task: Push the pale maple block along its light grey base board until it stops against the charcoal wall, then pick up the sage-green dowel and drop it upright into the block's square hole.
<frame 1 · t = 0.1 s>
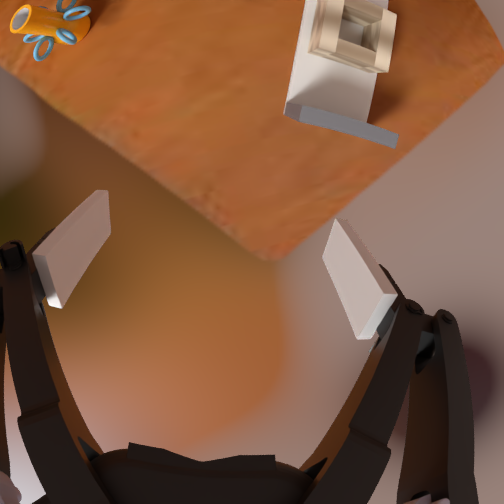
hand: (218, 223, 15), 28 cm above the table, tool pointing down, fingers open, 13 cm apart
orange ringed tube: (77, 29, 25), on the table
backstop: (340, 48, 31), on the table
block: (352, 31, 26), point 4 cm above the table, slide at 8.0 cm
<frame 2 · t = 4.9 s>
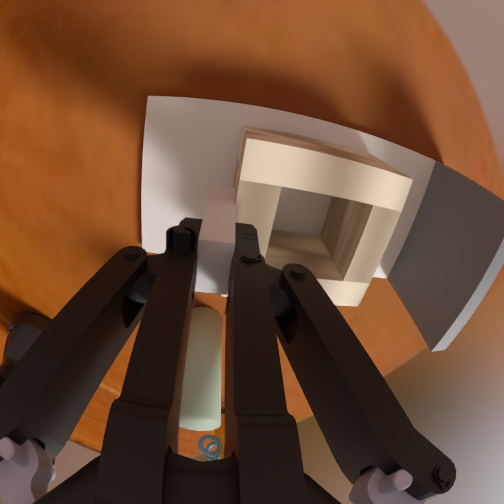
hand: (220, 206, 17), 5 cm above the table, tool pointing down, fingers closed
orange ringed tube: (230, 416, 44), on the table
backstop: (305, 197, 22), on the table
block: (305, 217, 18), point 4 cm above the table, slide at 6.6 cm, touching gripper
dowel: (203, 319, 29), on the table
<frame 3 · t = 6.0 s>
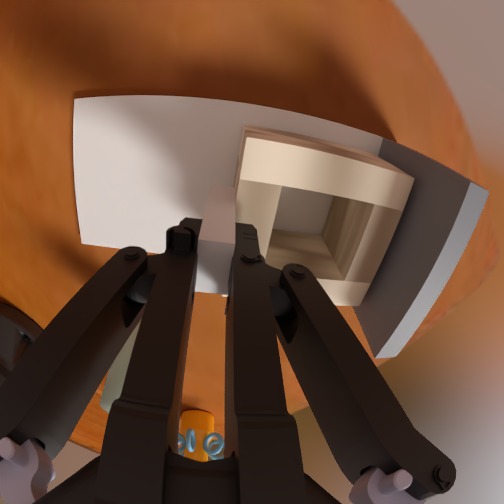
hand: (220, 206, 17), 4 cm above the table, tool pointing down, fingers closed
orange ringed tube: (197, 414, 43), on the table
backstop: (228, 185, 21), on the table
block: (306, 216, 18), point 4 cm above the table, slide at 0.4 cm, touching gripper
dowel: (147, 312, 28), on the table
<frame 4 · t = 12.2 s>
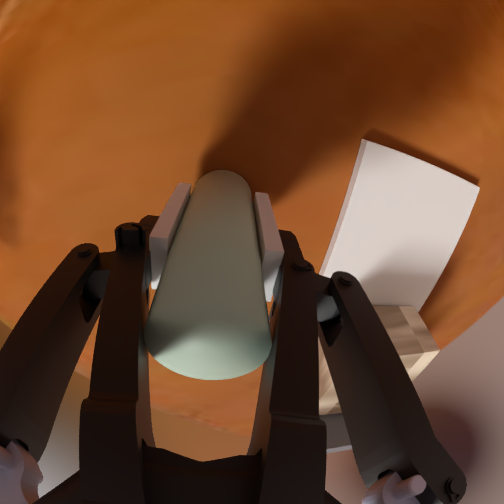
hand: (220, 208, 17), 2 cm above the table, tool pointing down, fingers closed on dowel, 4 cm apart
backstop: (374, 294, 24), on the table
block: (364, 363, 23), point 4 cm above the table, slide at 0.2 cm
dowel: (221, 198, 18), on the table, touching gripper
when the fingers open (8 cm above the table, at t = 18.0 s): dowel drops 3 cm, resting on backstop.
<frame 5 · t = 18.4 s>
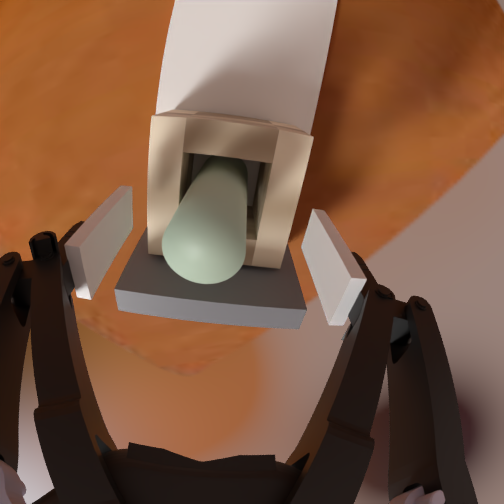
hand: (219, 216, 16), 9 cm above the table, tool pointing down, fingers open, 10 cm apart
backstop: (235, 108, 21), on the table
block: (223, 183, 20), point 4 cm above the table, slide at 0.2 cm
dowel: (224, 174, 23), point 1 cm above the table, touching backstop
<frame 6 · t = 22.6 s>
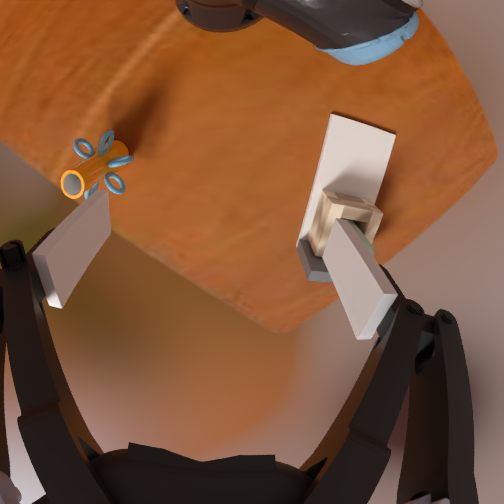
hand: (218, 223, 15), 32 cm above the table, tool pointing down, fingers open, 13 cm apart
orange ringed tube: (115, 155, 42), on the table
backstop: (345, 190, 48), on the table
block: (344, 226, 47), point 4 cm above the table, slide at 0.2 cm
dowel: (338, 219, 50), point 1 cm above the table, touching backstop
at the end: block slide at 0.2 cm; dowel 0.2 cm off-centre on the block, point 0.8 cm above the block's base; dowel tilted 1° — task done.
